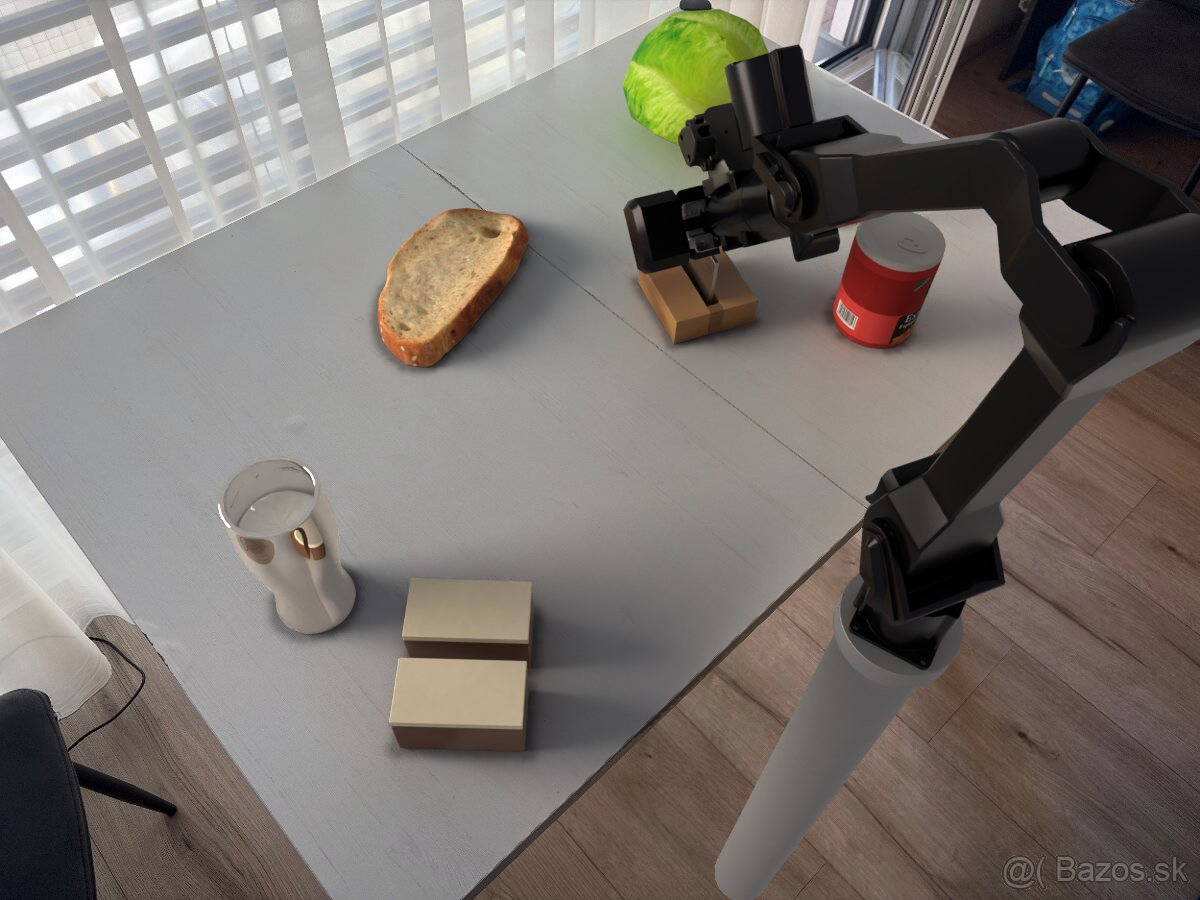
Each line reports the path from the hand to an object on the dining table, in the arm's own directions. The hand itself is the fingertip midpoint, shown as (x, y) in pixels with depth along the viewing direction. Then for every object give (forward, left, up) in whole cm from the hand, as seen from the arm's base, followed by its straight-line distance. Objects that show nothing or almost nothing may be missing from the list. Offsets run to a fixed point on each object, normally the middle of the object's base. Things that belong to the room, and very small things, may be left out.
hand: (698, 223), depth 90 cm
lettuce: (+11, -23, -9) cm, 27 cm away
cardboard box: (-1, +1, -9) cm, 9 cm away
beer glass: (+9, +46, -9) cm, 48 cm away
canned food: (-17, -6, -9) cm, 20 cm away
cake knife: (-1, +1, -7) cm, 7 cm away
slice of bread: (+20, +12, -9) cm, 25 cm away
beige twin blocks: (-5, +45, -9) cm, 46 cm away
